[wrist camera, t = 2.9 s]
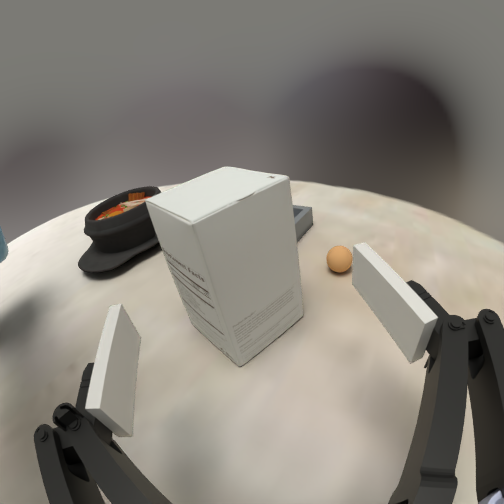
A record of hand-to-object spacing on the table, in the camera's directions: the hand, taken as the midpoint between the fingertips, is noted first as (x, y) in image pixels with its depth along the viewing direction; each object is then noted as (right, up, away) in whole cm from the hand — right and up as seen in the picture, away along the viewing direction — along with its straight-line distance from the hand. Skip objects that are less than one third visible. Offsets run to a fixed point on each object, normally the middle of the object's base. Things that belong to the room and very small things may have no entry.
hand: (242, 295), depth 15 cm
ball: (+11, 0, +19) cm, 22 cm away
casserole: (-22, +4, +36) cm, 42 cm away
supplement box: (0, -5, +15) cm, 16 cm away
